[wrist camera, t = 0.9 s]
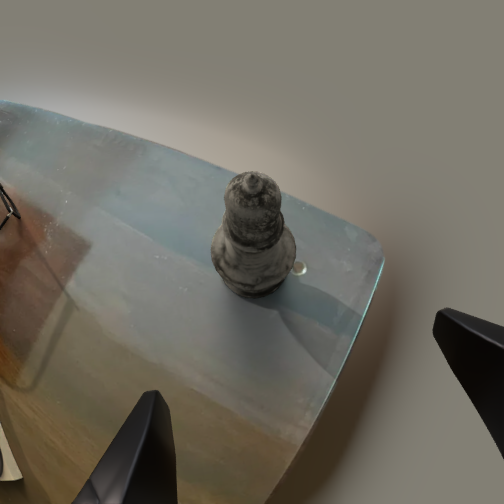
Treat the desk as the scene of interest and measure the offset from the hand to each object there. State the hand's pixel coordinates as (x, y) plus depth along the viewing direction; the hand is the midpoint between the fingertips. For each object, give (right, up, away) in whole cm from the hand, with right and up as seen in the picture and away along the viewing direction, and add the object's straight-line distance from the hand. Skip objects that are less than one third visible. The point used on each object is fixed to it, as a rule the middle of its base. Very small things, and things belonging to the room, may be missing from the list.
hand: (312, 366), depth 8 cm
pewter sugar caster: (-2, +2, +16) cm, 16 cm away
